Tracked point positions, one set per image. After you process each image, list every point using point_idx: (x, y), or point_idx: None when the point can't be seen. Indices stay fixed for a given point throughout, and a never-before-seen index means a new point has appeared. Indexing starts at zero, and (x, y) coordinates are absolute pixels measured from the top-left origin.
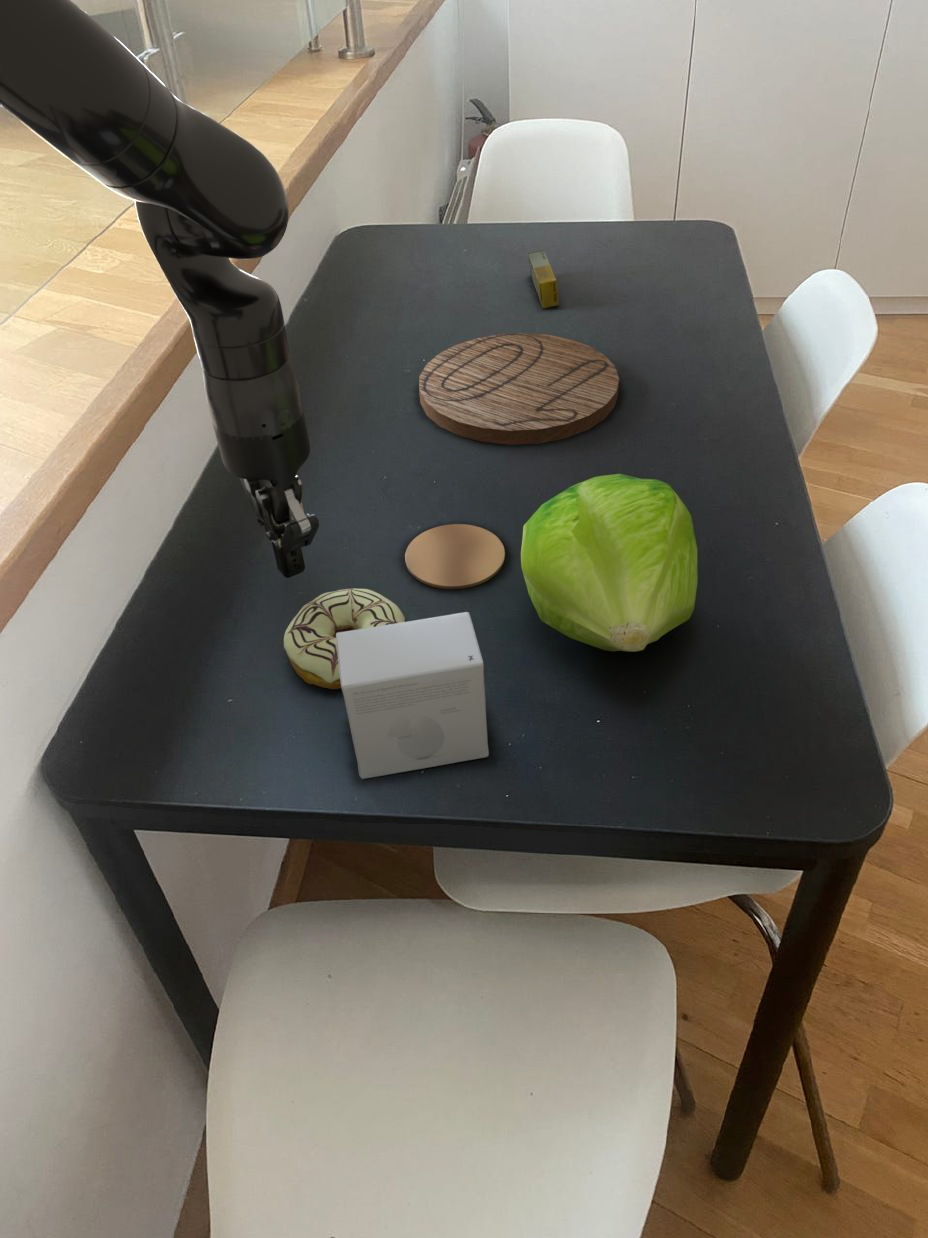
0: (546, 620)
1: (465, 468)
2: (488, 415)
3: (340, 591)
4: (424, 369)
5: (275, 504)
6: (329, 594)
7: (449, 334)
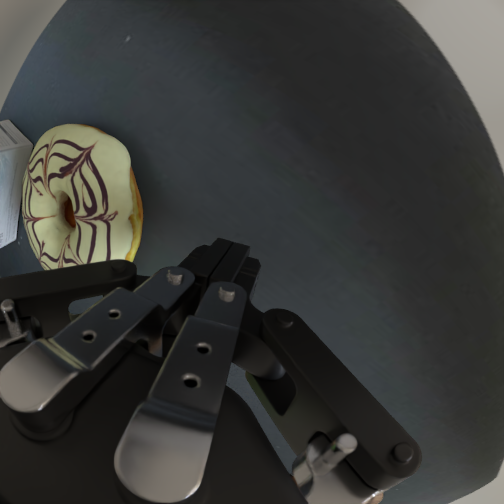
0: None
1: None
2: None
3: None
4: (381, 495)
5: (1, 362)
6: (105, 250)
7: (393, 499)
